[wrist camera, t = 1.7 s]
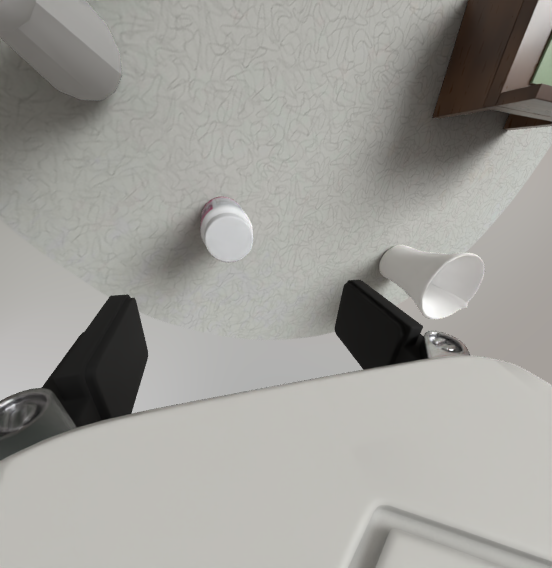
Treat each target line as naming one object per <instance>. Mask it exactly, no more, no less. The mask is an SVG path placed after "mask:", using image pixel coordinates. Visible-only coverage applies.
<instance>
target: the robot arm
mask: <svg viewBox="0 0 552 568" xmlns="http://www.w3.org/2000/svg"><path fill="white" fill-rule="evenodd" d="M422 328H423V326H422V325H420V324H419V323H418V322H417V321H415V320H414V319H413V318H411V317H410V316H409V315H407V314H406V313H404V312H403V311H402V310H400V309H399V308H398V307H396V306H395V305H394V304H392V303H391V302H390V301H388V300H387V299H386V298H384V297H383V296H382V295H380V294H379V293H378V292H376V291H375V290H374V289H372V288H371V287H370V286H368V285H367V284H366V283H364V282H363V281H361V280H349V281H348V282H347V283H346V284H345V285H344V287H343V292H342V296H341V301H340V305H339V310H338V314H337V319H336V324H335V332H336V334H337V336H338V337H339V338H340V340H341V341H342V342H343V343H344V345H345V346H346V347H347V349H348V350H349V351H350V353H351V354H352V355H353V357H354V358H355V359H356V360H357V362H358V363H359V364H360V366H361V367H362V368H363V369H364V370H359V371H354V372H348V373H342V374H337V375H331V376H326V377H320V378H315V379H310V380H304V381H298V382H293V383H288V384H283V385H277V386H272V387H266V388H261V389H255V390H251V391H245V392H240V393H234V394H229V395H224V396H219V397H213V398H208V399H203V400H197V401H192V402H187V403H182V404H176V405H171V406H166V407H161V408H156V409H151V410H146V411H142V412H137V413H133V414H131V413H132V409H133V406H134V403H135V399H136V396H137V392H138V389H139V386H140V382H141V379H142V376H143V372H144V369H145V366H146V362H147V358H148V350H147V346H146V341H145V337H144V333H143V328H142V324H141V320H140V316H139V311H138V307H137V303H136V300H135V298H130V296H129V295H115V296H110V297H109V299H108V300H107V301H106V303H105V304H104V306H103V307H102V308H101V310H100V311H99V313H98V314H97V316H96V317H95V318H94V320H93V321H92V322H91V324H90V325H89V326H88V328H87V329H86V331H85V332H83V333H82V334H81V335H80V336H79V337H78V339H77V340H76V342H75V343H74V344H73V346H72V347H71V348H70V350H69V351H68V353H67V354H66V355H65V357H64V358H63V359H62V361H61V362H60V363H59V365H58V366H57V368H56V369H55V370H54V372H53V373H52V374H51V376H50V377H49V379H48V380H47V381H46V383H45V384H44V385H43V387H42V388H36V389H29V390H26V391H22V392H19V393H16V394H14V395H11V396H9V397H7V398H5V399H3V400H1V401H0V568H552V385H550V384H549V383H547V382H546V381H544V380H542V379H541V378H539V377H537V376H535V375H534V374H532V373H530V372H529V371H527V370H525V369H523V368H521V367H519V366H517V365H514V364H512V363H509V362H506V361H502V360H498V359H493V358H487V357H481V356H470V354H469V351H468V349H467V347H466V346H465V345H464V344H463V343H462V342H461V341H460V340H458V339H456V338H455V337H453V336H450V335H449V334H446V333H443V332H438V331H428V332H426V333H425V335H424V336H422V335H421V334H420V333H421V330H422Z"/></svg>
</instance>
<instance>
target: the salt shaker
mask: <svg viewBox="0 0 552 568" xmlns="http://www.w3.org/2000/svg"><path fill="white" fill-rule="evenodd" d="M0 38H1V39H2V40H3V41H4V42H6V43H7V44H8V45H9V46H10V47H11V48H12V49H13V50H14V51H15V52H16V53H18V54H19V55H20V56H21V57H22V58H23V59H24V60H25V61H26V62H27V63H28V64H30V65H31V66H32V67H33V68H34V69H35V70H36V71H37V72H38V73H39V74H41V75H42V76H43V77H44V78H45V79H46V80H47V81H48V82H49V83H50V84H51V85H53V86H54V87H55V88H56V89H57V90H59V91H61V92H63V93H65V94H68V95H70V96H72V97H74V98H77V99H79V100H95V101H102V100H103V99H105V98H106V97H108V96H110V95H111V94H113V93H114V92H115V91H116V89H117V87H118V84H119V82H120V80H121V77H122V68H121V54H120V52H119V50H118V47H117V45H116V43H115V41H114V38H113V36H112V34H111V31H110V29H109V27H108V25H107V24H106V23H105V22H104V21H103V20H102V18H101V17H100V16H99V15H98V14H97V13H96V11H95V10H94V9H93V8H92V7H91V6H90V4H89V3H87V2H86V1H85V0H0Z"/></svg>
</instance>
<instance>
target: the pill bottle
mask: <svg viewBox="0 0 552 568" xmlns="http://www.w3.org/2000/svg"><path fill="white" fill-rule="evenodd" d="M200 231H201V237H202V240H203V242H204V244H205V245H206V248H207V250H208V251H209V253H210V254H211V255H212V256H213V257H214V258H216V259H218V260H220V261H223V262H236V261H239V260H241V259H243V258H244V257H245V256H246V255H247V254H248V253H249V252H250V250H251V248H252V245H253V228H252V224H251V222H250V219H249V218H248V216H247V215H246V213H245V212H244V210H243V209H242V208H241V206H240V205H239V204H238V203H237V202H236V201H234V200H233V199H230V198H228V197H216V198H214V199H212V200H210V201H209V202H208V203H207V204H206V205H205V207H204V208H203V211H202V216H201V226H200Z"/></svg>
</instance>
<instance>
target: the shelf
mask: <svg viewBox="0 0 552 568" xmlns="http://www.w3.org/2000/svg"><path fill="white" fill-rule="evenodd" d="M488 110H495V111H500V112H505V113H510V114H509V116H508V119H507V121H506V123H505V126H504V128H503V129H505V130H516V129H527V128H537V127H547V126H552V0H468V4H467V7H466V10H465V13H464V17H463V20H462V23H461V26H460V30H459V33H458V36H457V39H456V43H455V46H454V49H453V52H452V55H451V59H450V62H449V65H448V68H447V72H446V75H445V78H444V81H443V85H442V88H441V91H440V94H439V98H438V101H437V104H436V107H435V111H434V114H433V117H432V118H437V119H442V118H448V117H454V116H460V115H465V114H471V113H477V112H482V111H488Z"/></svg>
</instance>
